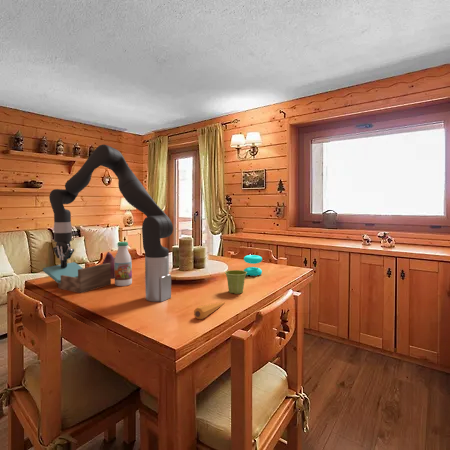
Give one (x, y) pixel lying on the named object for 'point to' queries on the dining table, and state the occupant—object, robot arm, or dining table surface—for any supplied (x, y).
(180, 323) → the dining table surface
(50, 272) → the teal card
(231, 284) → the plant pot
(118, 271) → the milk bottle
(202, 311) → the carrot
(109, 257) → the vegetable
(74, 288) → the wooden box
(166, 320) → the dining table surface
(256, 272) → the donuts
